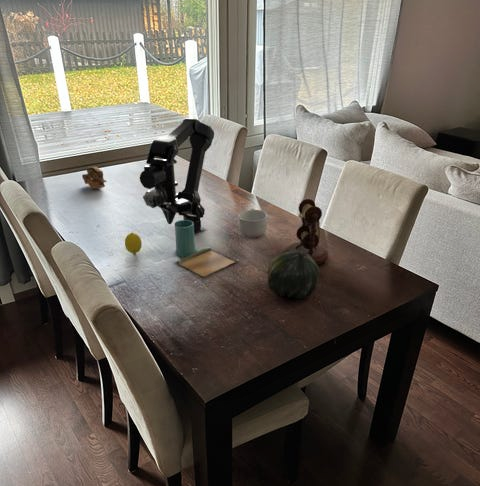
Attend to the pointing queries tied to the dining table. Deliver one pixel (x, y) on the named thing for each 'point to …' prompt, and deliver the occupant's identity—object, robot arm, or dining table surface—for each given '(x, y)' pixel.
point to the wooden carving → (94, 178)
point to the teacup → (253, 222)
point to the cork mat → (204, 262)
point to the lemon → (133, 243)
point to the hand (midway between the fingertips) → (169, 223)
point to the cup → (184, 237)
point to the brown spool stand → (309, 233)
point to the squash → (293, 274)
